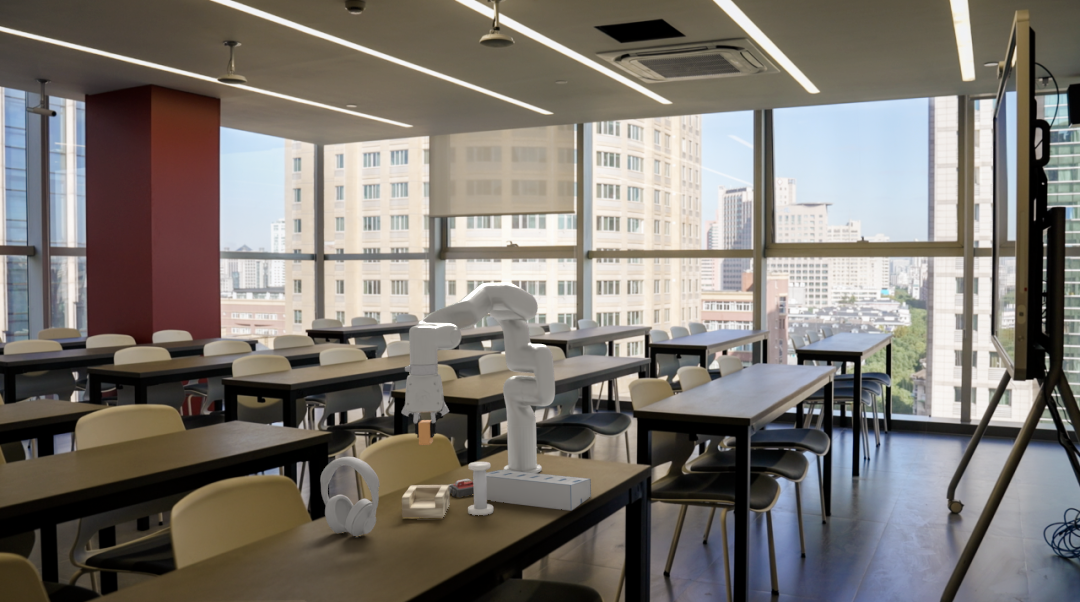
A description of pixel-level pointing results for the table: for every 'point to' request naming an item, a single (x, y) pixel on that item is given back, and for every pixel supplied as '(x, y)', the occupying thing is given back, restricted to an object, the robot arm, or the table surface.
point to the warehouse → (537, 489)
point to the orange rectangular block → (424, 432)
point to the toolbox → (462, 488)
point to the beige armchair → (426, 501)
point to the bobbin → (480, 489)
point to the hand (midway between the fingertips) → (425, 436)
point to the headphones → (342, 509)
